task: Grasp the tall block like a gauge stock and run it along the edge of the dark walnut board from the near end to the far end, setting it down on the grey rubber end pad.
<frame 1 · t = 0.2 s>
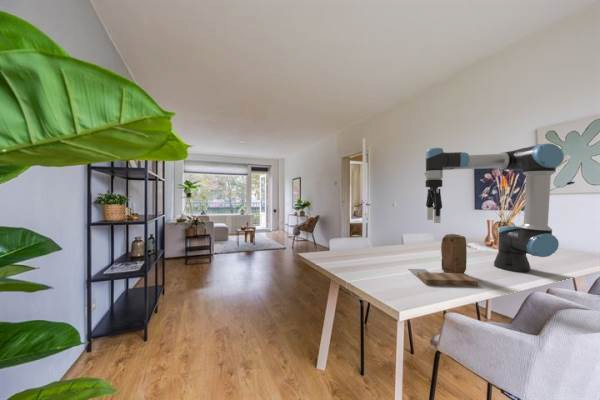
hand: (433, 221, 124), 27 cm above the table, fingers open, 13 cm apart
end pad: (421, 273, 125), on the table
block: (452, 274, 124), on the table
board: (446, 281, 114), on the table
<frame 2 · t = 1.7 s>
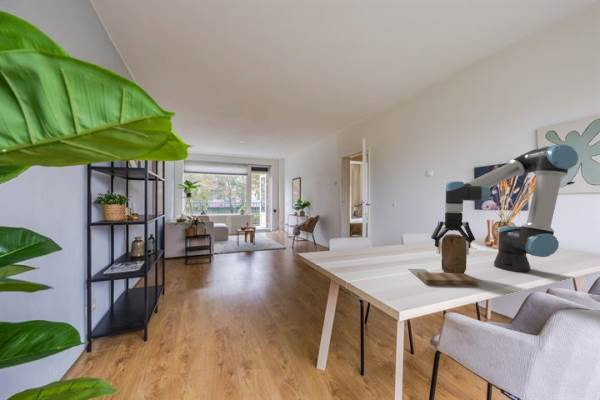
hand: (452, 253, 124), 10 cm above the table, fingers open, 13 cm apart
nothing on the table moved.
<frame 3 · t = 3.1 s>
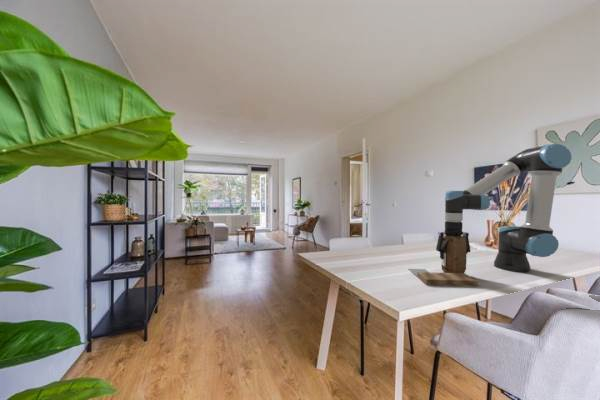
hand: (452, 265, 124), 4 cm above the table, fingers closed on block, 8 cm apart
block: (452, 274, 124), on the table, touching gripper
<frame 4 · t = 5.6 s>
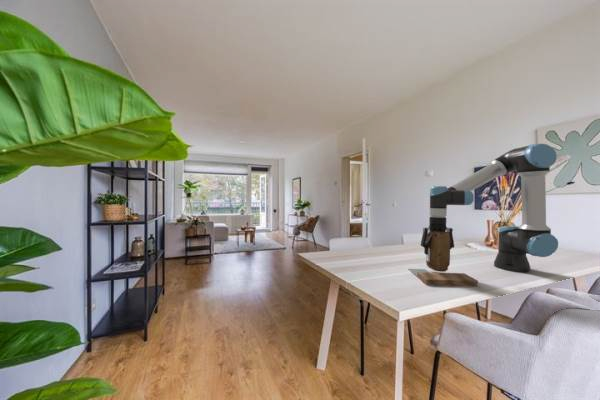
hand: (436, 260, 125), 7 cm above the table, fingers closed on block, 8 cm apart
block: (436, 269, 125), point 2 cm above the table, touching gripper
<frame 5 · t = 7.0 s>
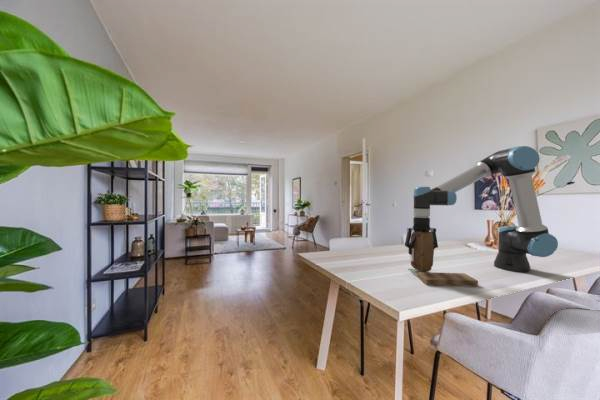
hand: (420, 260, 125), 6 cm above the table, fingers closed on block, 8 cm apart
block: (420, 269, 125), point 2 cm above the table, touching gripper
when the fingers open (5 cm above the table, at t = 8.4 s): block stays where it is, resting on end pad.
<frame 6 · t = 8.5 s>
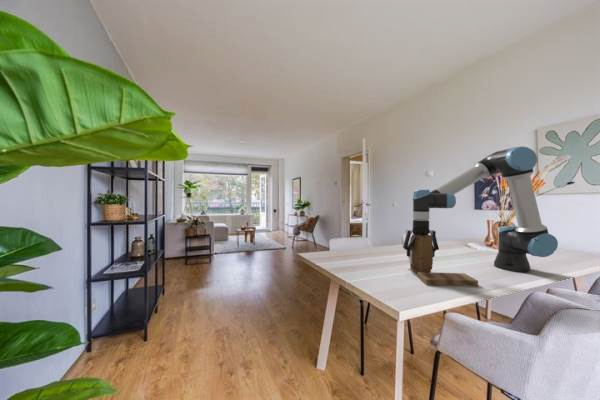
hand: (420, 263, 125), 5 cm above the table, fingers open, 9 cm apart
block: (420, 272, 125), resting on end pad
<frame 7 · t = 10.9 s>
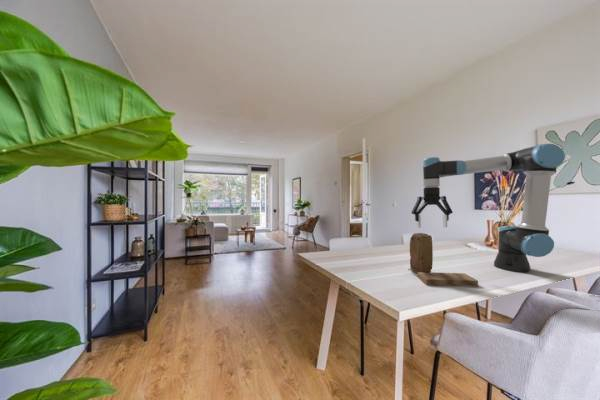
hand: (431, 227, 129), 23 cm above the table, fingers open, 13 cm apart
nothing on the table moved.
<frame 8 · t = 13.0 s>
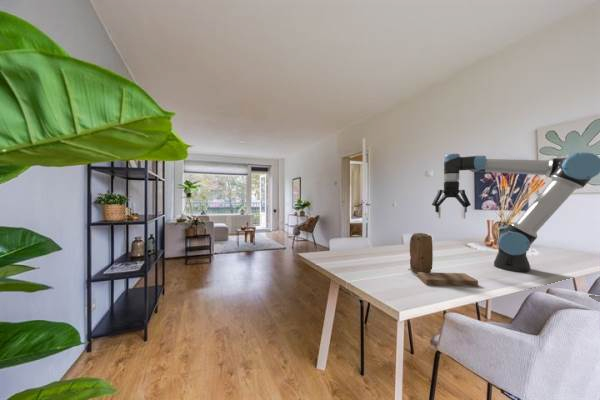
hand: (450, 218, 141), 27 cm above the table, fingers open, 13 cm apart
nothing on the table moved.
at the end: block inside the target area (0.1 cm from its centre), resting on end pad; block tilted 0°; block moved 16.1 cm from its start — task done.
